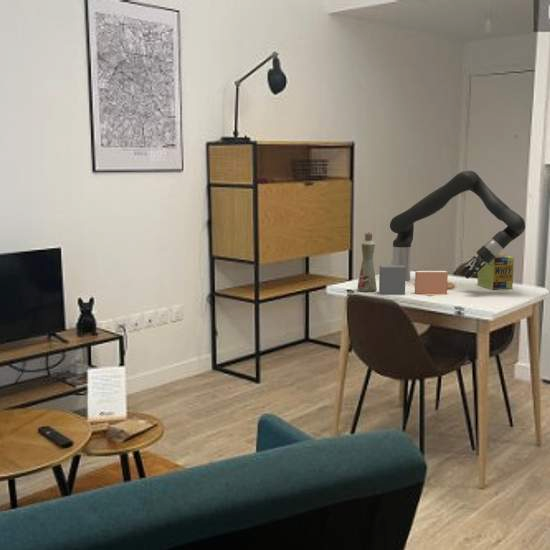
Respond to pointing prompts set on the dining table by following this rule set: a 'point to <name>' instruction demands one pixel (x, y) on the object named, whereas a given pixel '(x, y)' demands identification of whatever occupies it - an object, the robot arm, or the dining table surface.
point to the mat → (431, 294)
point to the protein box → (497, 273)
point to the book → (431, 282)
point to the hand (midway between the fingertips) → (463, 275)
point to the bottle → (367, 266)
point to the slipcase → (392, 279)
